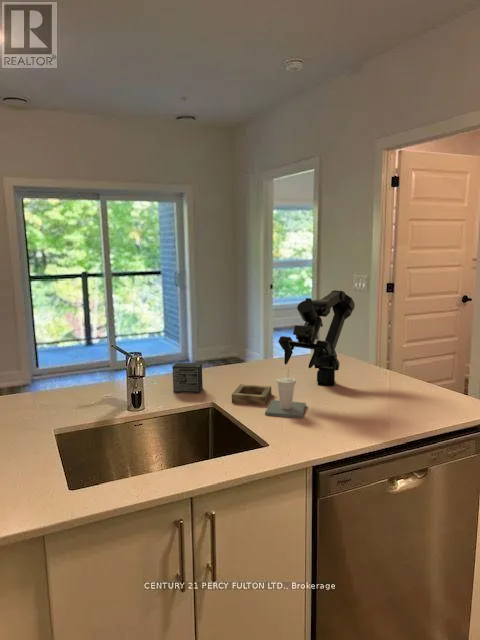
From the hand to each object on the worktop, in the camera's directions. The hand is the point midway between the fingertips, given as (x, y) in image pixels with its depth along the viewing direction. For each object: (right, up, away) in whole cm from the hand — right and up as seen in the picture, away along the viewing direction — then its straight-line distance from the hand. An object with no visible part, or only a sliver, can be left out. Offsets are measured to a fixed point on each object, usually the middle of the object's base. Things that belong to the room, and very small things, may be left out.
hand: (297, 365), depth 161 cm
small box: (-40, -11, +17) cm, 45 cm away
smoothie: (-4, -14, -4) cm, 15 cm away
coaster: (-4, -15, -4) cm, 16 cm away
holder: (-16, -13, +8) cm, 21 cm away
